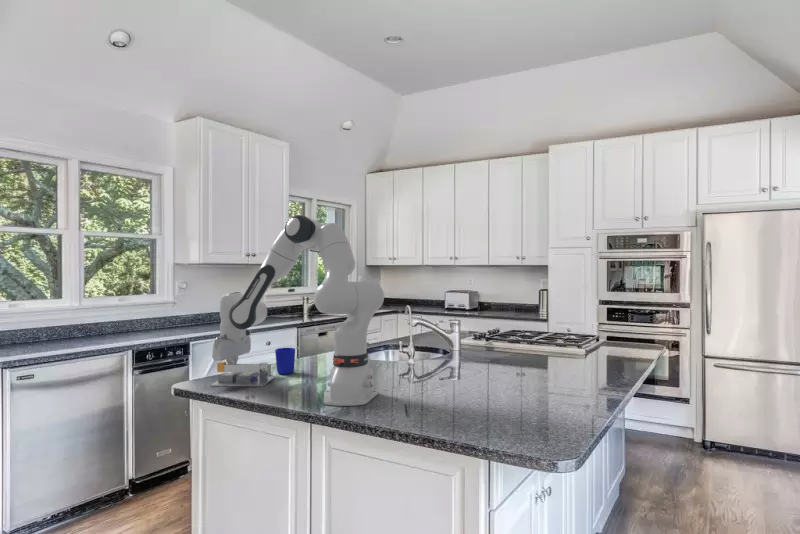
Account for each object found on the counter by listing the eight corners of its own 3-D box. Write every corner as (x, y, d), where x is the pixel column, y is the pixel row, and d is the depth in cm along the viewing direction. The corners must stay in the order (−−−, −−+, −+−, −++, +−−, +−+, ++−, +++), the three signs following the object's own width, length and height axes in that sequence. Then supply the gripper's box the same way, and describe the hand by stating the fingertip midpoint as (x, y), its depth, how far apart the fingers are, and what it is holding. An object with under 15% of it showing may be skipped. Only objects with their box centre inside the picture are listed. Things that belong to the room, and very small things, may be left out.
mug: (300, 369, 222) (300, 346, 222) (292, 375, 210) (291, 350, 210) (282, 369, 223) (281, 346, 223) (272, 375, 211) (272, 350, 211)
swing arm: (266, 372, 197) (266, 363, 197) (216, 372, 198) (216, 363, 198) (268, 370, 200) (268, 361, 200) (220, 370, 201) (220, 361, 201)
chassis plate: (262, 386, 192) (262, 376, 191) (210, 386, 193) (210, 376, 193) (274, 377, 205) (274, 368, 205) (225, 377, 207) (225, 368, 207)
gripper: (222, 337, 192) (222, 374, 192) (253, 330, 212) (253, 363, 212) (207, 336, 194) (208, 373, 194) (240, 329, 213) (240, 363, 213)
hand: (232, 368), depth 203 cm, fingers closed
